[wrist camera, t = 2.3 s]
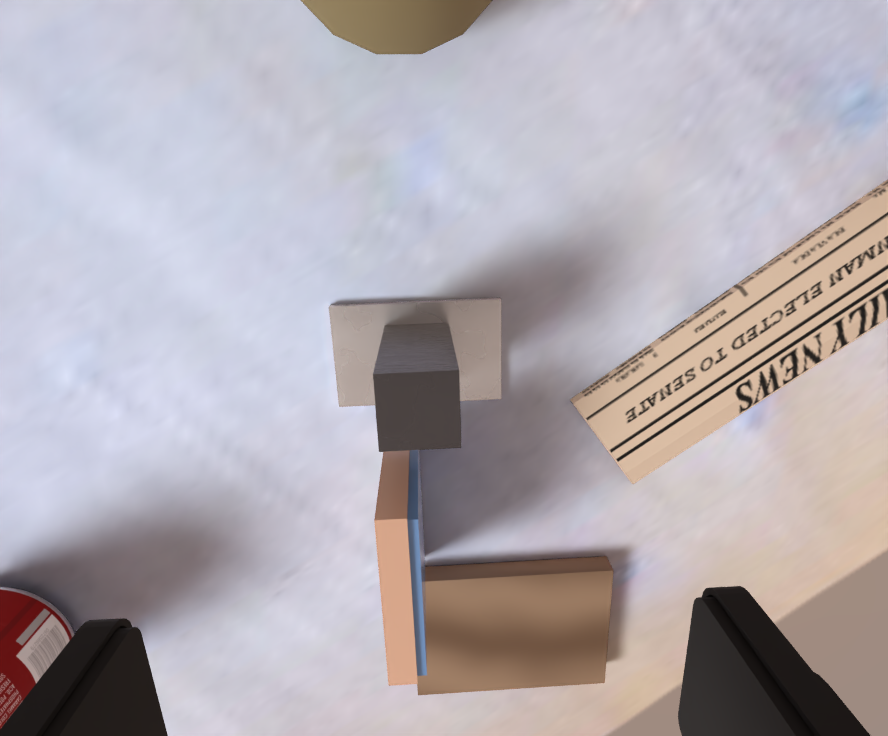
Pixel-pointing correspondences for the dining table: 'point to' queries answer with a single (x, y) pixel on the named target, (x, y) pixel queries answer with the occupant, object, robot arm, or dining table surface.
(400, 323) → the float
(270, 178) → the dining table surface
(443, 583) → the board
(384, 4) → the squeeze bottle
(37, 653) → the soda can
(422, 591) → the tile
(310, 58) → the dining table surface
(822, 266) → the newspaper
